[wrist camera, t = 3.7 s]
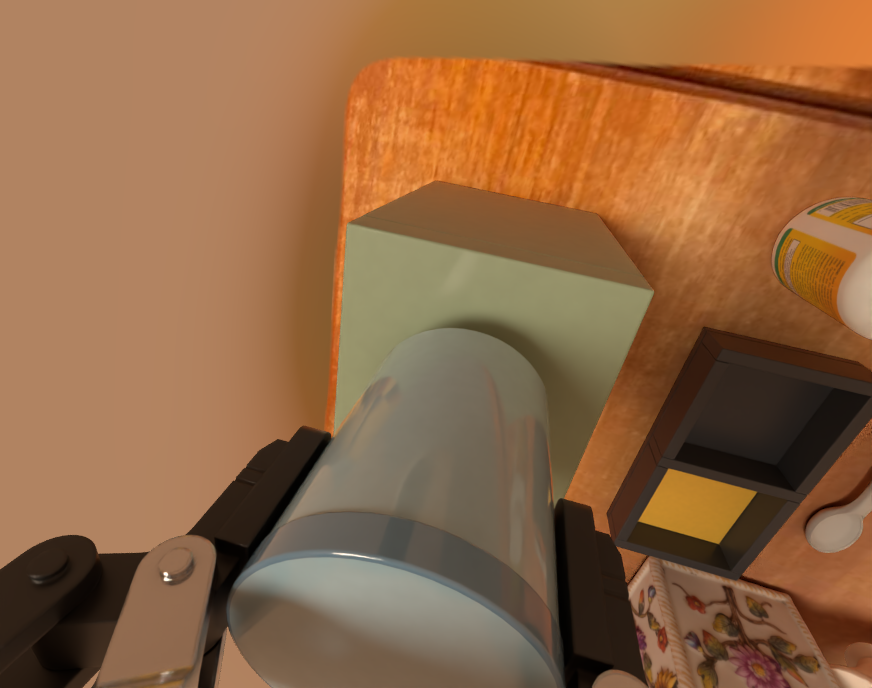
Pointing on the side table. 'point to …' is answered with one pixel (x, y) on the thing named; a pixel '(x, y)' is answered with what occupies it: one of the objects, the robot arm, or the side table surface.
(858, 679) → the beige rounded piece
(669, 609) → the decorative jar
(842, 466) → the side table surface
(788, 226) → the supplement bottle
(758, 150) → the side table surface
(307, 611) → the blue grey cylinder
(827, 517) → the spoon
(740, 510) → the tray
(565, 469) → the shelf
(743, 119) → the side table surface
